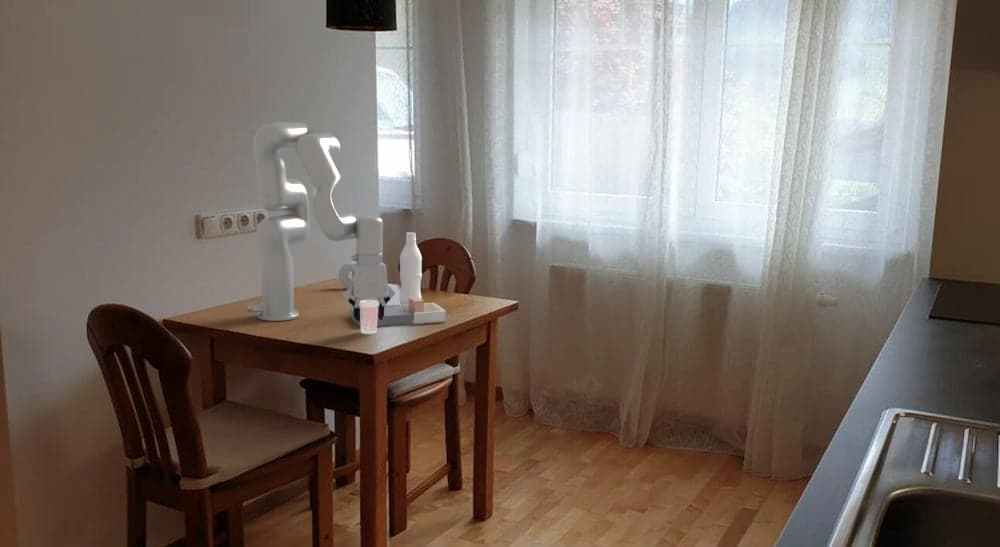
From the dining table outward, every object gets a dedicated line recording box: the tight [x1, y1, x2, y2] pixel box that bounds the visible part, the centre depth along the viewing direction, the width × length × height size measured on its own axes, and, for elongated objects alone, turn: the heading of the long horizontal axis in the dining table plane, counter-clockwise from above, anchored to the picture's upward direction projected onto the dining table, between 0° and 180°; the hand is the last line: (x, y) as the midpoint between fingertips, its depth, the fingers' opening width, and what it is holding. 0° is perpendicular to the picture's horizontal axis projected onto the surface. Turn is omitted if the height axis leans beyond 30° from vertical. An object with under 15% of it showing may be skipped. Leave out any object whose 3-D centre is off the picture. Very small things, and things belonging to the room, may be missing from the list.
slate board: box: [349, 304, 413, 328], centre depth 277 cm, size 16×14×3 cm
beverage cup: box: [359, 299, 380, 335], centre depth 261 cm, size 6×6×14 cm
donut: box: [338, 261, 356, 289], centre depth 322 cm, size 10×4×10 cm, turn 95°
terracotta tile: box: [409, 297, 425, 320], centre depth 279 cm, size 6×6×3 cm
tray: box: [403, 302, 447, 325], centre depth 280 cm, size 10×12×4 cm
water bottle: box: [399, 231, 423, 307], centre depth 293 cm, size 7×7×25 cm
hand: (368, 318), depth 261 cm, fingers closed on beverage cup, 6 cm apart
